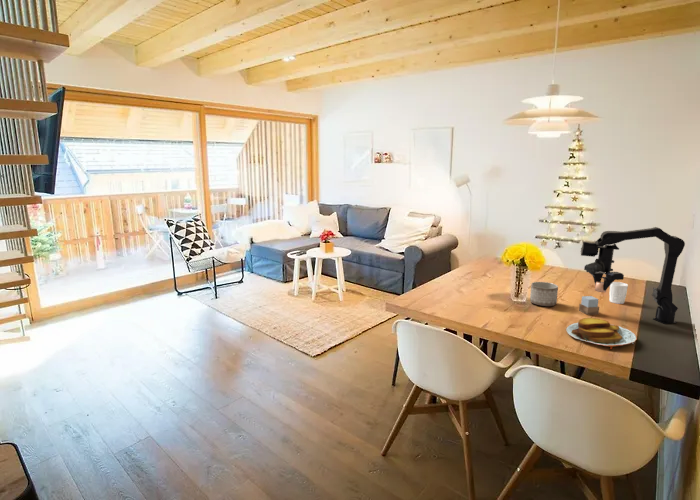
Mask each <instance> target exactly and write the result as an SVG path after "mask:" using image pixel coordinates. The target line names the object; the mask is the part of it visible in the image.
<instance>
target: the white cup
mask: <svg viewBox="0 0 700 500" xmlns="http://www.w3.org/2000/svg"><path fill="white" fill-rule="evenodd" d="M628 287H629V284H628V283H626V282H625V283H624V282H621V281H613V282H612V283H611V285H610V286H609V299H608V301H609V302H610V303H611V304H612V303H613V304H618V305H621V304H622V305H623V304H625V301H626V298H627V294H628V293H627V292H628Z"/></svg>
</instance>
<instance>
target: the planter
mask: <svg viewBox="0 0 700 500" xmlns="http://www.w3.org/2000/svg"><path fill="white" fill-rule="evenodd" d="M530 285H531V286H530V297H529V301H530V302H531V303H532V304H533V305H538V306H541V307H554V306H556V305H557V302H558V292H559V285H557V284H555V283H553V282H546V281H534V282H531V283H530Z"/></svg>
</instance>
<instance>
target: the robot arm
mask: <svg viewBox="0 0 700 500" xmlns="http://www.w3.org/2000/svg"><path fill="white" fill-rule="evenodd" d="M655 237H656V238H657V239H659V240H660V241H662V242H663V247H664V248H663V249H664V255H665V257H664V261H663V265H662V271H661V276H660V279H659V280H660V281H659V284H658V286H657V287H653V288H652V294H651V296H652V299H653V301H655V303H656V304H657V309H656V310H655V317H652V320H654V321H657V322H658V323H661V324H664V325H665V324H666V325H667V324H677V323H678V321H676V320H675V316H676V313H677V311H678V309H679V308H678V306H676V304H674V303H673V291H672V285H673V282H674V276H675V272H676V267H677V262H678V258H679V256H681V254H682V253H683V251H684V248H685V247H686V246H685V245H686V243H685V241H684V239H682V238H680V237H678V236H676V235H675V236H674V235H670V234H669V233H668V232H666V231H664V230H663V229H662V228H660V227H658V226H657V227H656V226H655V227H654V226H653V227H651V228H649V227H648V228H643V229H634V230H626V231H618V230H617V231H616V230H605V231H603V232H602V233H601V235H600V237H598V239H597V240H596V241H594V242H588V241H583V242H582V244H581V245H582V246H581V248H580V256H581V257H583V256H584V257H593V258H594V257H595V256H597V255H598V258H596V259H595V260H594V262H590V263H588V264H585V265H584V268H583V269H584V271H586V273H588V274H590V275H591V276H592V277H593V282H594V286H596V282H602V280H603V282H604V285H603V290H604V291H605V290H606V291H607V290H608V288H610V285H611V283H612V282H615V281H620V280H621V281H622V280H624V277H625V275H624V273H621V272H619V271H614V269H613V268H612V264H614V263H615V260H614V259H613V257H614V250H620V248H619V246H618V245H617V244H618V243H621V242H624V241H629V240H639V239H646V238H647V239H648V238H655ZM604 275H605V276H604Z"/></svg>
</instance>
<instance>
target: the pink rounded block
mask: <svg viewBox="0 0 700 500" xmlns="http://www.w3.org/2000/svg"><path fill="white" fill-rule="evenodd" d="M603 285H604V281H601V282H596V286H595V285H594V286H595V287H594V291H596V292H598V293H607V290H605V291H604V290H603Z"/></svg>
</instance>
